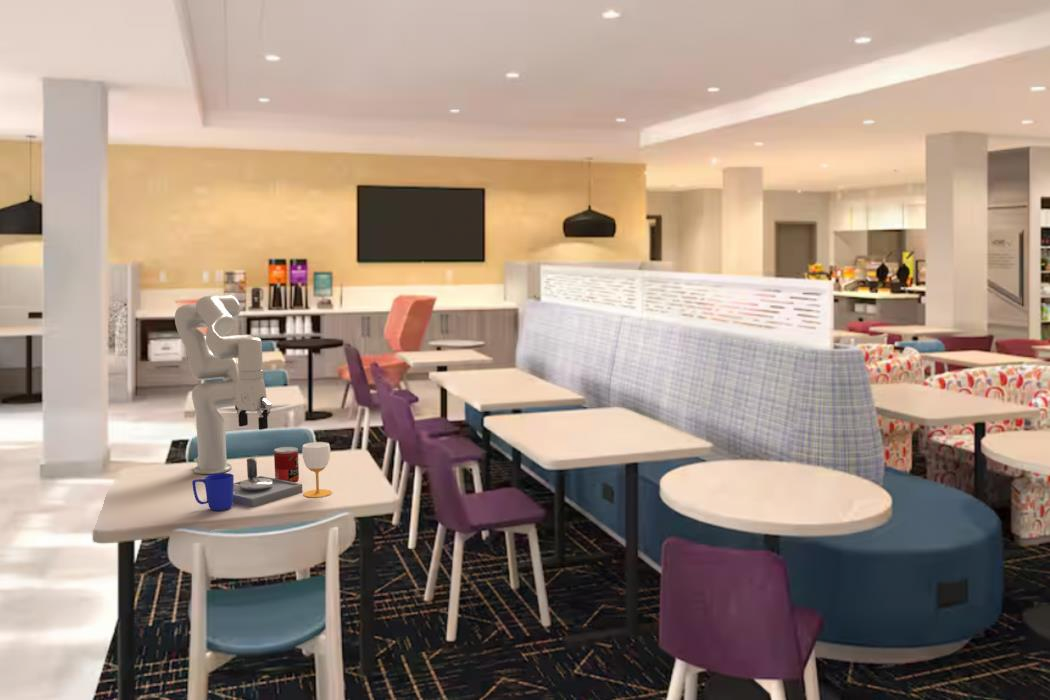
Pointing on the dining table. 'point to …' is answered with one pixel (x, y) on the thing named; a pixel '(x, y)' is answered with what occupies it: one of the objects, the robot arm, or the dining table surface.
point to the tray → (265, 492)
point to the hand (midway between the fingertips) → (253, 427)
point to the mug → (217, 491)
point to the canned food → (286, 464)
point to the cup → (316, 464)
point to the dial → (254, 478)
